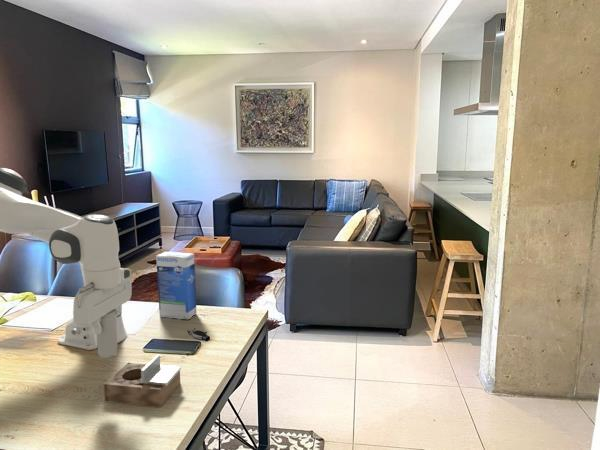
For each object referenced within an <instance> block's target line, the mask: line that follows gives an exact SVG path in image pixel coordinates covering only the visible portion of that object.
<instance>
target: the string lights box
mask: <svg viewBox="0 0 600 450" xmlns="http://www.w3.org/2000/svg"><path fill="white" fill-rule="evenodd" d="M155 258H156V259H155V261H156V273H157V274H156V276H157V292H158V307H159V308H158V309H159V310H158V311H159V318H160V317H169V318H168V319H171V318H178V319H177V320H181V319H190V318H191V317H192V316H193V315H195V314H196V313H197V292H196V289H197V288H196V287H197V286H196V271H195V270H196V269H195V268H196V265H195V252H194V253H193V252H177V251H175V252H174V251H164V252H162V253H159V254H157V255H156V256H155ZM196 315H197V314H196ZM196 315H195V316H196ZM193 317H194V316H193ZM193 317H192V318H193ZM192 318H191V319H192ZM191 319H190V320H191Z"/></svg>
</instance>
